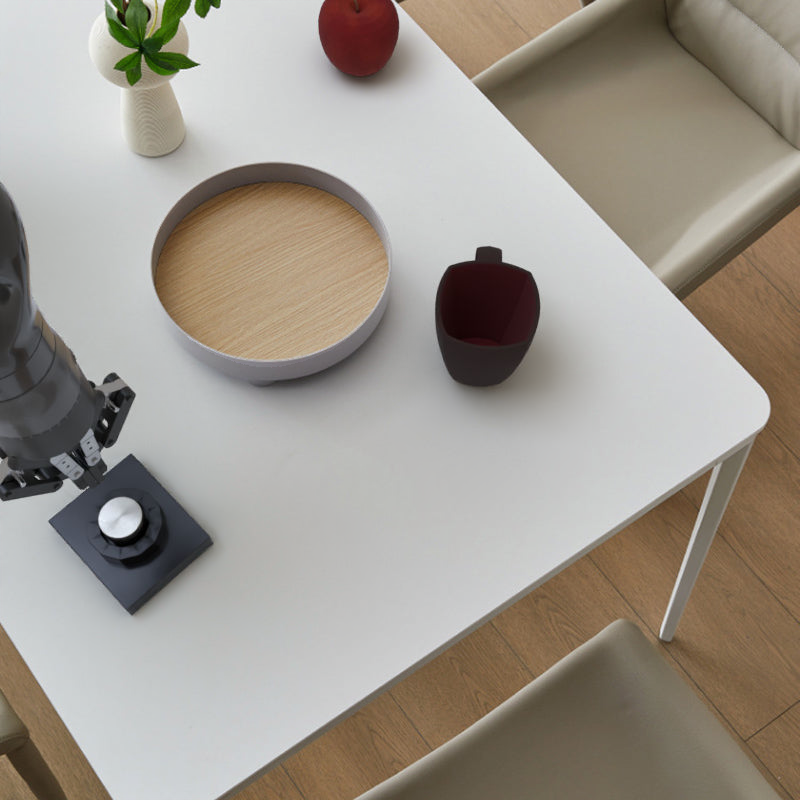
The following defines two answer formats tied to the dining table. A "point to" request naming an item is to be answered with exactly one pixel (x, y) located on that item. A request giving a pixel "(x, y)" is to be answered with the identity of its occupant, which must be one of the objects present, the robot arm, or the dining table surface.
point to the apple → (358, 34)
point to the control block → (142, 559)
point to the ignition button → (122, 520)
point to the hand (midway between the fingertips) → (91, 477)
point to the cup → (485, 318)
